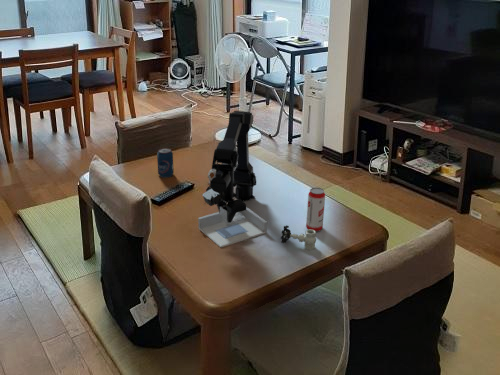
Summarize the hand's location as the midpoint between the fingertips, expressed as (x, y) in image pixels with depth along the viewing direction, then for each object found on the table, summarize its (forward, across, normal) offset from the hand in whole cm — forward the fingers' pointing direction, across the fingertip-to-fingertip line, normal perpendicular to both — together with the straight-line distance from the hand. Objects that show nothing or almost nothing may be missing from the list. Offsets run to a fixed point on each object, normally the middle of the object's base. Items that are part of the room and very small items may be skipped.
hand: (225, 219), depth 210 cm
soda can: (+7, -59, +4) cm, 59 cm away
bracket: (+2, 0, +3) cm, 3 cm away
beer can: (+6, +14, +30) cm, 34 cm away
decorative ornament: (+7, -39, +19) cm, 44 cm away
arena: (+6, -1, +3) cm, 7 cm away
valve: (+7, +20, +18) cm, 28 cm away
